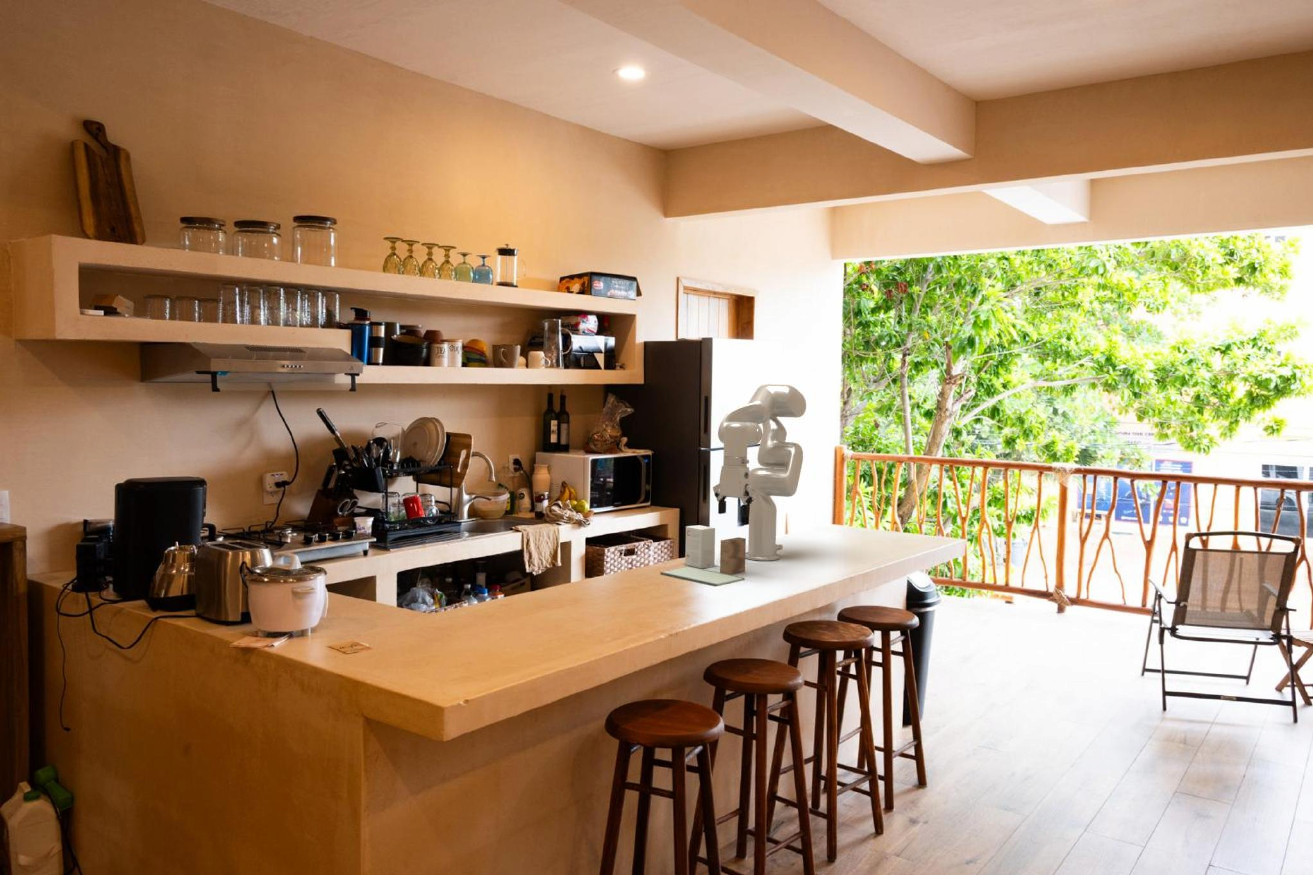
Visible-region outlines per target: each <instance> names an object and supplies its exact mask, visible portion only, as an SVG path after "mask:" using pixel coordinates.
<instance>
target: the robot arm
mask: <svg viewBox="0 0 1313 875" xmlns="http://www.w3.org/2000/svg"><path fill="white" fill-rule="evenodd" d="M806 410H807V402H806V398H805V396H804V395H803V394H802V392H800V390H798V389H797V388H796V387H794V386H793V385H789V384H772V383H771V384H770V383H768V384H767V383H766V384H762V385H760V386H759V387H758V388H757V389H756V390H755V392H754V393H753V395H752V397H751V398H750V400H749V402H747V403H746V404H744V405H741V406H738V407H737V408H735V409H733V410H731V411H729V412H728V413H726V414H725V416H724V418H723V419H722V420H721V421H720V424H719V426H718V430H717V436H718V437H717V438H718V440H719V441H720V442H721V443H722V444H723V464H722V465H721V470H720V473H719V474H720V475H719V483H717V484H715V485H714V486H712V491H713V493H714V495H713V496H714V497H715V498H716V502H718V503H717V505H718V506H717V508H718V510H717V513H718V514H719V515H722V514H726V513H727V498H734V499H740V500H741V502H742V503H743V504H741V517H742V518H748V543H747V544H748V546H747V548H748V549H747V550H748V551H745V559H747V560H750V561H751V560H753V561H761V562H762V561H763V562H765V561H766V562H768V561H769V562H770V561H777V560H779V559H780V558H781V557H780V556H781V555H780V554H779V553H777V552H778V551H781V550H783V548H784V546H783V545H782V544H777V542H776V541H777V540H776V539H777V516H778V515H777V505H776V503H775V501H774V500H773V498H772V497H783V498H784V497H786V498H788V497H789V498H790V497H793V496H794V495H795V494H796V493H797V490H798V487H799V486H798V485H799V481H800V476H801V472H802V466H803V461H804V450H803V448H802V446H801V445H800V444H799V443H797V442H793V441H786V439H787V435H788V434H787V430H786V427H785V426H784V424H783V423H782V422H781V421H780V419H779V418H797V419H798V418H801V417H803V416H804V415H805V412H806ZM760 425H762V428H761V426H760ZM757 444H759V447H758V452H757V458H756V459H757V463H758V465H759V466H761V467H755V468H752V469H751V470H750V467H749V466H747V465H748V464H749V463H750V460H749V459H748V446H755V445H757Z"/></svg>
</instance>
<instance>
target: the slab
mask: <svg viewBox="0 0 1313 875" xmlns="http://www.w3.org/2000/svg"><path fill="white" fill-rule="evenodd" d="M746 539H747V538H745V537H739V536H738V537H733V538H728V539H727V538H726V539H721V540H720V554H719V556H720V557H719V558H720V559H719V573H724V574H728V575H733V576H735V575H737V574H742V573H746V558H745V553H746V552H747V551H746V549H747V548H746V547H747V546H746V545H747V543H746V542H747V541H746Z"/></svg>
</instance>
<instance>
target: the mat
mask: <svg viewBox="0 0 1313 875" xmlns="http://www.w3.org/2000/svg"><path fill="white" fill-rule="evenodd" d="M659 573H660V574H659V575H662V576H668V577H671V578H677V579H679V580H685V581H690V582H694V583H699V584H703V585H708V586H712V587H719V586H723V585H727V584H732V583H736V582H741V581H745V577H742V576H738V575H728V574H724V573H720V571H715V570H714V571H713V570H707V569H705V568H697V567H693V566H687V567H681V568H677V569H671V570H665V571H660V572H659Z"/></svg>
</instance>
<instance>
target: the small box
mask: <svg viewBox="0 0 1313 875" xmlns="http://www.w3.org/2000/svg"><path fill="white" fill-rule="evenodd" d="M715 548H716V528H715V527H712V526H705V525H702V524H701V525H700V524H698V525H687V526H685V553H684V555H685V556H684V557H685V558H684V559H685V560H684V562H685V566H688V567H695V568H699V569H705V568H711V567H712V568H713V567H715V566H716V565H715V560H716V559H715V557H716V555H715V554H716V553H715V552H716V550H715Z"/></svg>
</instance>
